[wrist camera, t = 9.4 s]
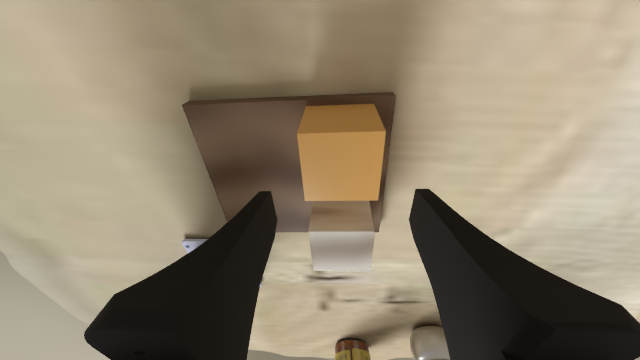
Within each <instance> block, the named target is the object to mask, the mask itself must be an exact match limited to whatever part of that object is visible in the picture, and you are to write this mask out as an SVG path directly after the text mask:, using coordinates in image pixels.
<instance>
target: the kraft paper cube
mask: <svg viewBox="0 0 640 360" xmlns="http://www.w3.org/2000/svg"><path fill="white" fill-rule="evenodd" d="M385 136H386V130H385V128H384V125H383V123H382V121H381V119H380V116H379V114H378V112H377V109H376V107H375V105H374V104H351V105H323V106H306V108H305V111H304V114H303V117H302V120H301V123H300V126H299V129H298V132H297V138H298V147H299V155H300V164H301V172H302V181H303V190H304V198H305V201H378V197H379V189H380V180H381V171H382V162H383V153H384V145H385Z"/></svg>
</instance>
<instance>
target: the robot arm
mask: <svg viewBox="0 0 640 360" xmlns="http://www.w3.org/2000/svg"><path fill="white" fill-rule="evenodd" d="M409 222H410V226H411V230H412V234H413V238H414V241H415V244H416V246H417V249H418V251H419V254H420V257H421V259H422V262H423V264H424V267H425V269H426V272H427V275H428V277H429V280H430V283H431V286H432V289H433V292H434V296H435V299H436V303H437V307H438V310H439V314H440V318H441V322H442V326H443V330H444V334H445V339H446V343H447V347H448V352H449V356H450V360H634V359H636V358H638V357H640V323H639V322H638V321H637V320H636V319H635V318H634V317H633V316H632V315H631V314H630V313H629V312H628V311H627V310H626V309H625V308H624V307H623V306H622V305H620V304H618V303H615V302H613V301H611V300H609V299H606V298H604V297H602V296H599V295H597V294H595V293H592V292H590V291H588V290H586V289H583V288H581V287H579V286H577V285H574V284H572V283H570V282H568V281H566V280H564V279H562V278H560V277H558V276H556V275H554V274H552V273H550V272H548V271H546V270H544V269H542V268H540V267H538V266H537V265H535V264H533V263H531V262H529V261H528V260H526V259H524V258H522V257H520V256H519V255H517V254H515V253H514V252H512V251H510V250H509V249H507V248H505V247H504V246H502V245H501V244H499V243H498V242H496V241H494V240H493V239H491V238H490V237H488V236H487V235H485V234H484V233H483V232H481V231H480V230H479V229H477V228H476V227H474V226H473V225H472V224H470V223H469V222H468V221H467V220H465V219H464V218H463V217H461V216H460V215H459V214H458V213H457V212H455V211H454V210H453V209H452V208H451V207H449V206H448V205H447V204H446V203H445V202H444V201H442V200H441V199H440V198H439V197H438V196H437V195H435V194H434V193H433V192H432V191H431V190H429V189H416V190H415V195H414V199H413V204H412V208H411V213H410V218H409ZM276 226H277V216H276V211H275V206H274V202H273V197H272V193H271V191H259V192H258V193H257V194H256V195H255V196H254V197H253V198H252V199H251V200H250V201H249V202H248V203H247V204H246V205H245V206H244V207H243V208H242V209H241V210H240V211H239V212H238V213H237V214H236V215H235V216H234V217H233V218H232V219H231V220H230V221H229V222H228V223H227V224H225V225H224V226H223V227H222V228H221V229H220V230H219V231H218V232H216V233H215V234H214V235H213V236H211V237H210V238H209V239H184V240H183V241H182V244H183V246H184V247H185V249H186V251H187V252H188V254H186V255H185V256H183V257H182V258H180V259H179V260H177V261H176V262H174V263H173V264H171V265H169V266H168V267H166V268H164V269H162V270H161V271H159V272H157V273H155V274H154V275H152V276H150V277H148V278H146V279H144V280H142V281H140V282H138V283H136V284H134V285H132V286H130V287H128V288H127V289H125V290H123V291H120V292H118V293H116V294H114V296H113V297H112V298H111V299H110V300H109V302H108V303H107V304H106V306H105V307H104V308H103V309H102V311H101V312H100V313H99V314H98V316H97V317H96V318H95V319H94V321H93V322H92V323H91V324H90V326H89V327H88V328H87V329H86V331H85V334H84V336H85V340H86V341H87V343H88V344H90V345H91V346H92V347H93V348H95V349H96V350H98V351H99V352H100V353H102V354H104V355H105V356H106V357H108V358H109V359H111V360H247V353H248V346H249V340H250V334H251V328H252V323H253V318H254V312H255V307H256V302H257V297H258V292H259V287H260V286H261V285H262V282H261V280H262V276H263V273H264V270H265V267H266V263H267V260H268V257H269V254H270V251H271V247H272V244H273V241H274V237H275V232H276Z"/></svg>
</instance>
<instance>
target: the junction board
mask: <svg viewBox="0 0 640 360" xmlns="http://www.w3.org/2000/svg"><path fill="white" fill-rule="evenodd" d="M395 97H396V96H395V95H394V93H393V92H390V93H367V94H344V95H321V96H298V97H275V98H252V99H229V100H206V101H188V102H187V103H185V104H183V105H182V106H183V109H184V111H185V114H186V117H187V119H188V122H189V124H190V127H191V129H192V132H193V134H194V137H195V140H196V142H197V145H198V147H199V150H200V152H201V155H202V157H203V160H204V163H205V165H206V168H207V170H208V173H209V175H210V178H211V181H212V183H213V186H214V188H215V191H216V193H217V196H218V198H219V201H220V204H221V206H222V209H223V211H224V214H225V216H226V219H227V222H229V221H230V220H231V219H232V218H233V217H234V216H235V215H236V214H237V213H238V212H239V211H240V210H241V209H242V208H243V207H244V206H245V205H246V204H247V203H248V202H249V201H250V200H251V199H252V198H253V197H254V196H255V195H256V194H257V193H258V192H259V191H271V193H272V197H273V202H274V206H275V211H276V216H277V226H276V232H309V239H310V247H311V255H312V264H313V271H371V262H372V253H373V243H374V234H375V232H379V226H380V218H381V210H382V202H383V194H384V186H385V178H386V170H387V162H388V153H389V145H390V137H391V129H392V121H393V113H394V105H395ZM351 104H374V105H375V107H376V109H377V112H378V114H379V116H380V119H381V121H382V123H383V125H384V128H385V130H386V136H385V145H384V153H383V162H382V171H381V180H380V189H379V197H378V201H305V198H304V190H303V181H302V172H301V164H300V155H299V147H298V138H297V132H298V129H299V126H300V123H301V120H302V117H303V114H304V111H305V108H306V106H323V105H351Z"/></svg>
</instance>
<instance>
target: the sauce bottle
mask: <svg viewBox="0 0 640 360" xmlns="http://www.w3.org/2000/svg"><path fill="white" fill-rule="evenodd" d="M335 353H336V355H335V360H370V354H369V350H368V347H367V345H366V344H365V343H364V342H363V341H361V340H353V339H347V340H342V341H340V342H338V343H337V344H336V347H335Z"/></svg>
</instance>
